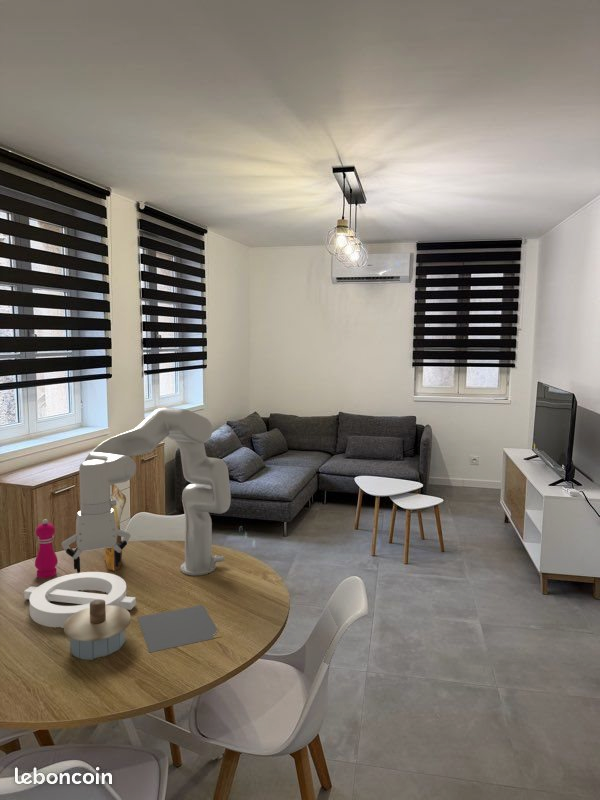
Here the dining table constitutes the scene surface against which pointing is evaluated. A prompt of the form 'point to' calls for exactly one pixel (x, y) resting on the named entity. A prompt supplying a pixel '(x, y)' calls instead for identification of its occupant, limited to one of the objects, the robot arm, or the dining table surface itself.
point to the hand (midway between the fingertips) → (97, 568)
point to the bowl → (97, 646)
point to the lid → (97, 622)
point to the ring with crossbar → (75, 596)
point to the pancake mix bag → (118, 510)
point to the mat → (177, 628)
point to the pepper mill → (45, 551)
